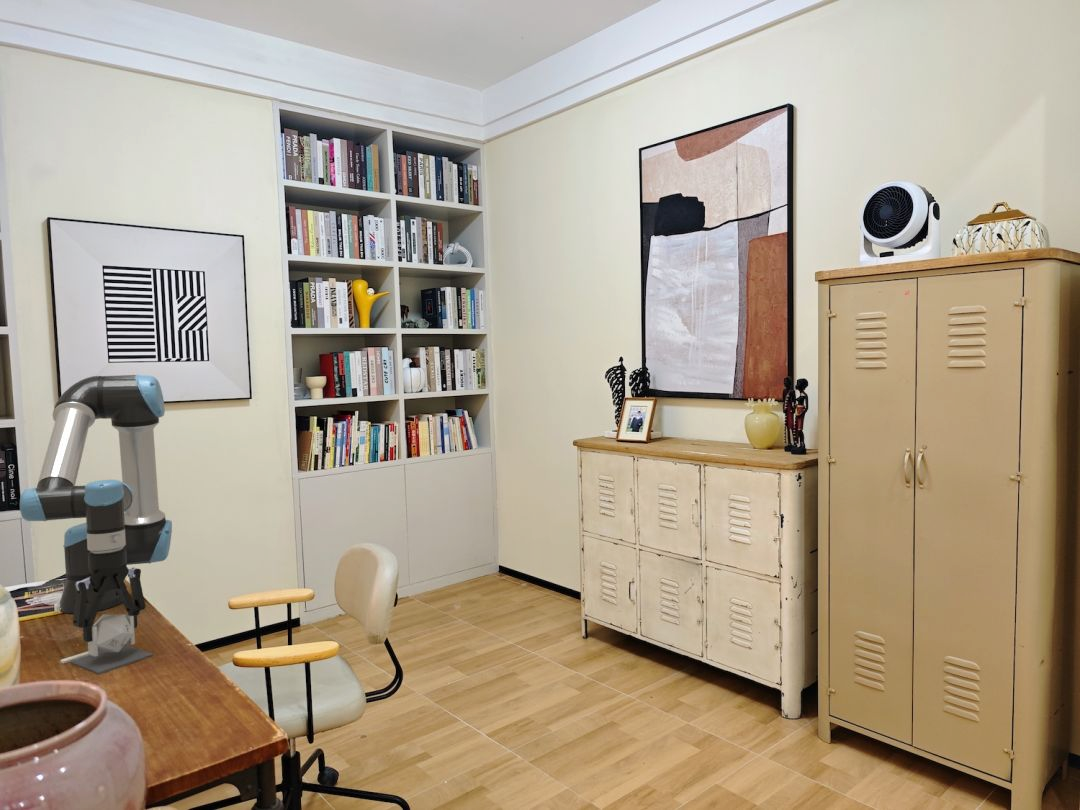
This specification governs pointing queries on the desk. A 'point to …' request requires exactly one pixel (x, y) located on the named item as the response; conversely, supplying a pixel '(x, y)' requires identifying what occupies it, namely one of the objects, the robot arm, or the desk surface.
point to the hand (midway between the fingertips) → (112, 648)
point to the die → (112, 633)
